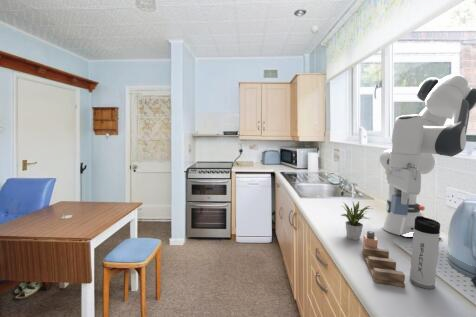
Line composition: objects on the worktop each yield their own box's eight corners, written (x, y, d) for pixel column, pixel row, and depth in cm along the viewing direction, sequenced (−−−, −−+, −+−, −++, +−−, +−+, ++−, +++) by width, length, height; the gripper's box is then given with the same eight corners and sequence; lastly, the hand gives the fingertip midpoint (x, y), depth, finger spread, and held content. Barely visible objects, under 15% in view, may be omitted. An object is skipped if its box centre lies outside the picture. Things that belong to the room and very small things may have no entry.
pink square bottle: (374, 251, 99) (375, 231, 99) (376, 255, 96) (378, 235, 95) (362, 249, 100) (364, 230, 100) (364, 254, 97) (366, 233, 96)
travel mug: (423, 276, 81) (428, 215, 80) (440, 289, 75) (446, 223, 73) (404, 276, 81) (409, 215, 79) (419, 289, 75) (425, 223, 73)
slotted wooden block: (386, 258, 94) (387, 248, 93) (404, 287, 76) (405, 276, 75) (362, 254, 96) (363, 245, 96) (374, 282, 78) (375, 271, 77)
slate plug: (402, 212, 90) (405, 189, 89) (407, 215, 86) (410, 192, 85) (390, 210, 91) (392, 188, 90) (394, 214, 87) (396, 191, 86)
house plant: (378, 247, 103) (380, 207, 101) (341, 243, 106) (344, 205, 104) (367, 233, 117) (369, 198, 115) (335, 231, 120) (337, 196, 118)
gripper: (429, 166, 76) (424, 211, 77) (403, 160, 96) (400, 196, 97) (405, 164, 78) (401, 208, 79) (385, 159, 97) (381, 195, 99)
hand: (400, 202), depth 88 cm, fingers closed on slate plug, 4 cm apart
